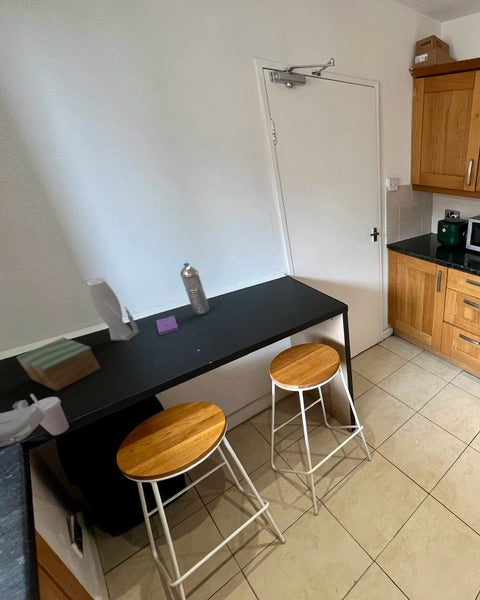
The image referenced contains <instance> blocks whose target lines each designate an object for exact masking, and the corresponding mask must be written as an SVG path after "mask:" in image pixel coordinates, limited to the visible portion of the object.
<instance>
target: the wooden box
mask: <svg viewBox="0 0 480 600" xmlns="http://www.w3.org/2000/svg"><path fill="white" fill-rule="evenodd" d="M17 361H18V362H19V363H20V365H21V366H22V369H24V371H25V372H26V373H27V375H28V377H29V378H30V380H32V381H34V382H36V383H39V384H40V385H42V386H44V387H48V388H50V389H51V390H54V391H56V392H59V391H60V390H62V389H63V388H65V387H68V386H69V385H71V384H73V383H75V382H77V381H79V380H81V379H83V378H85V377H87V376H88V375H90V374H93V373H94V372H97V371H99V370H100V369H101V368H102V367H101V366H100V364H99V361H98V360H97V359H96V357H95V355H94V353H93V351H92V348H91V349H90V350H88V351H86V352H84V353H81V354H79V355H77V356H75V357H73V358H71V359H68V360H66V361H64V362H62V363H60V364H58V365H56V366H53V367H51V368H49V369H47V370H45V371H44V370H42V369H39V368H37V367H35V366H32V365H30V364H28V363H26V362H23V361H21V360H19V359H17Z"/></svg>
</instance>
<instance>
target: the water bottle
mask: <svg viewBox="0 0 480 600" xmlns="http://www.w3.org/2000/svg"><path fill="white" fill-rule="evenodd" d="M179 274H180V277H181V280H182V282H183V285H184V288H185V291H186V295H187V299H188V301H189V304H190V307H191V310H192V312H193V314H194V315H196V316H203V315H207V314H208V313H209V312H210V311H211V308H210V305H209V303H208V299H207V296H206V292H205V289H204V286H203V285H202V282H201V278H200V275H199V270H198V269H196V267H193V266H190V263H189V262H184V263H183V268H182V269H181V271H180V273H179Z"/></svg>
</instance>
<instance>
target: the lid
mask: <svg viewBox="0 0 480 600" xmlns="http://www.w3.org/2000/svg"><path fill="white" fill-rule="evenodd" d="M90 349H91V350H92V347H90V346H89V345H87V344H86V345H85V344H82V343H80V342H77V341H76V340H75V341H74V340H72V339H70V338H66V337H61V338H58V339H56V340H54V341H51V342H49V343H47V344H44V345H41V346H39V347H37V348H34V349H31V350H29V351H27V352H25V353H22V354H20V355H18V356H16V359H17V360H18V359H19V360H21V361H23V362H26V363H28V364H30V365H32V366H35V367H37V368H39V369H42V370H44V371H45V370H47V369H49V368H51V367H53V366H56V365H58V364H60V363H62V362H64V361H66V360H68V359H71V358H73V357H75V356H77V355H79V354H81V353H84V352H86V351H88V350H90Z"/></svg>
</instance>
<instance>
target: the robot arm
mask: <svg viewBox="0 0 480 600" xmlns="http://www.w3.org/2000/svg"><path fill="white" fill-rule="evenodd" d="M12 408H13V409H12V410H9V411H5V412H0V448H2V447H4V446H9V445H12V444H16V443H18V442H21V441H22V440H24V439H26V438H27V437H28V436H30V435H31V434H32V433H33V432H34V431H35V430H36V428H38V427H39V425H40V423H41V421H42V420H43V419H44V414H43V412H42V411H41V410H40V409H39V408H38V407H37V406H31V405H29V403H28V401H27V400H26V399H22V400H17V401H15V402H14V403H13V404H12Z"/></svg>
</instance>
